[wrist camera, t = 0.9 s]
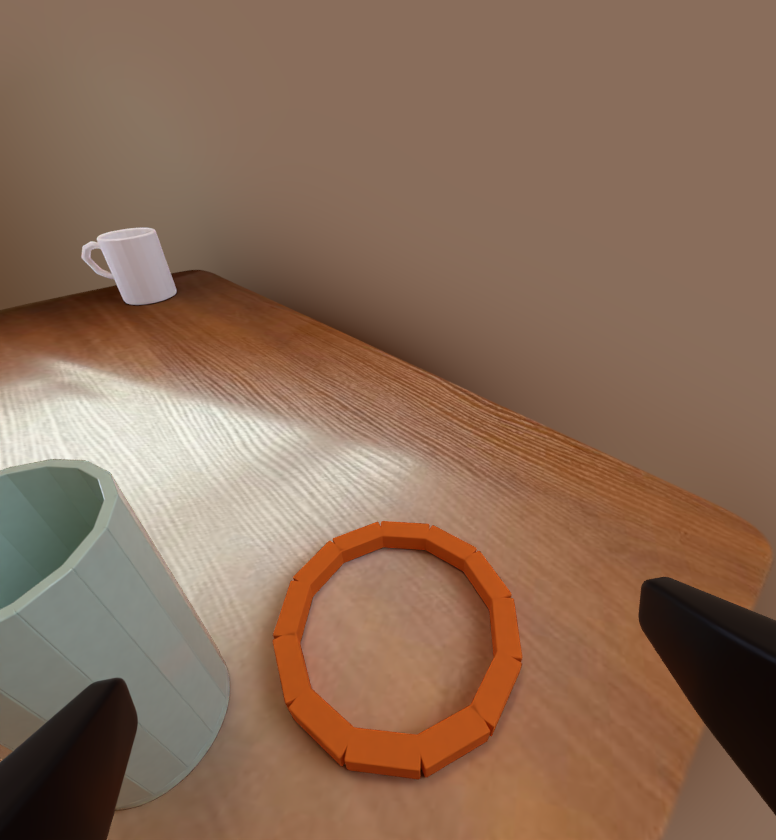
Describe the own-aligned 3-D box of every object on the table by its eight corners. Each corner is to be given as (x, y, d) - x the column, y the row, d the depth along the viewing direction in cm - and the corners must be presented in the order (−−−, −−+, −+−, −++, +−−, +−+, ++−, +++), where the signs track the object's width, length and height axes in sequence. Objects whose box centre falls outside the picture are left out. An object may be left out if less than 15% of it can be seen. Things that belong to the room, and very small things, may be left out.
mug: (112, 292, 71) (85, 231, 65) (183, 286, 72) (162, 226, 66) (90, 309, 65) (57, 243, 59) (167, 303, 65) (142, 237, 59)
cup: (187, 821, 16) (-22, 683, 9) (34, 798, 17) (-283, 652, 9) (251, 645, 22) (159, 463, 14) (133, 633, 22) (-16, 455, 15)
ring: (536, 794, 16) (541, 786, 16) (242, 756, 18) (235, 747, 17) (501, 539, 26) (503, 527, 26) (314, 528, 28) (311, 516, 27)
